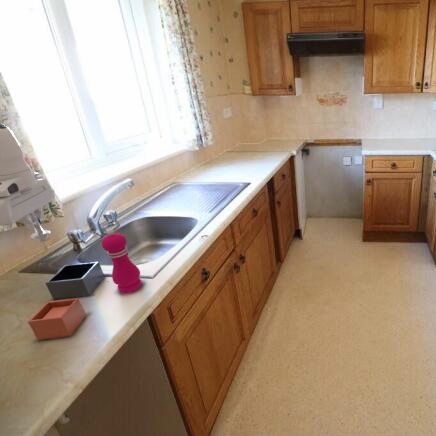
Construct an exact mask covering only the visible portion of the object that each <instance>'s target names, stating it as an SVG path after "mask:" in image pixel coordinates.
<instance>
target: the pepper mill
mask: <svg viewBox="0 0 436 436" xmlns="http://www.w3.org/2000/svg"><path fill="white" fill-rule="evenodd" d="M106 234H107V235H105V236H104V237H103V239H102V240H101V247H102V249H103V250H105V251H107V252H106V254H107V256H108V258H110V259H111V261H112V271H111V272H112V273H111V279H112V283H114V284H115V285H117V290H118V292H119V293H120V294H131V293H134V292H135V291H138V290H139V289H140V288H141V287H142V285H143V282H142V279H141V278H140V277H141V271H140V269H139V267H138V266H137V265H136V264H135V263H134V262H133V261H131V259H130V257H129V256H128V255H129V254H128V252H129V249H128V246H127V243H128V242H127V237H125V235H123V234H122V233H119V232H115V230H114V229H112V228H111V229H108V230H106Z"/></svg>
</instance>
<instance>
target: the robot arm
mask: <svg viewBox="0 0 436 436" xmlns="http://www.w3.org/2000/svg"><path fill="white" fill-rule="evenodd" d="M55 197H56V196H55V193H54V191H53V188H51V185H50V184H49V182H48V181H47V180H46V179H45V178H44V176H43V175H41V174H40V173H38V172H33V170H32V168H31V166H30V165H29V164H28V163H27V161H26V159H25V154H24V151H23V149H22V147H21V145H20V142H19V141H18V138H17V137H16V135H15V134H14V133H13V131H12V130H11V129H10V128H9V127H8V126H7V125H6V124H3V123H1V122H0V226H9V225H13V224H15V223H17V222H18V221H19V222H21V223H22V224H24V225H25V227H26V229H27V230H34V228H35V227H37V224H36V222H35V221H31V220H30V216H29V214H30V213H32V212H35V213H34V214H36V215H35V216H37V219H38V221H39V223H40V225H42V224H43V223H44V222H45V220H44V218H43V217H44V216H43V215H44V213H43V212H44V211H43V210H44V209H43V207H44V206H45V205H47V204H49V203H52V201H54V200H55V199H56V198H55Z"/></svg>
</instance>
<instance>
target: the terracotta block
mask: <svg viewBox="0 0 436 436" xmlns="http://www.w3.org/2000/svg"><path fill="white" fill-rule="evenodd" d="M68 307H69V306H64V307H56V308H52V309H51V310H50V311H49V312H48V313H47V314H46V315H45V316H44V317H43V318H42V319H45V318H54V317H61V315H62V314H63V313H64V312H65V311H66V310H67V309H68Z"/></svg>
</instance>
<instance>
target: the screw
mask: <svg viewBox="0 0 436 436" xmlns="http://www.w3.org/2000/svg"><path fill="white" fill-rule="evenodd" d="M34 213H35V212H32V213H30V214H29V216H30V218H29V219H30V220H31V221H35V222H36V224H37V227H35V228H34V229H33V231H34V232H33V233H32V234H31V235H30V239H32V240H37V242H39V243H42V242H47V241H48V240H50V236H49V235H51V234H52V231H51V230H49V229H43V228H42V224H40V223H39V221H38V219H37V216H35V215H36V214H34Z"/></svg>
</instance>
